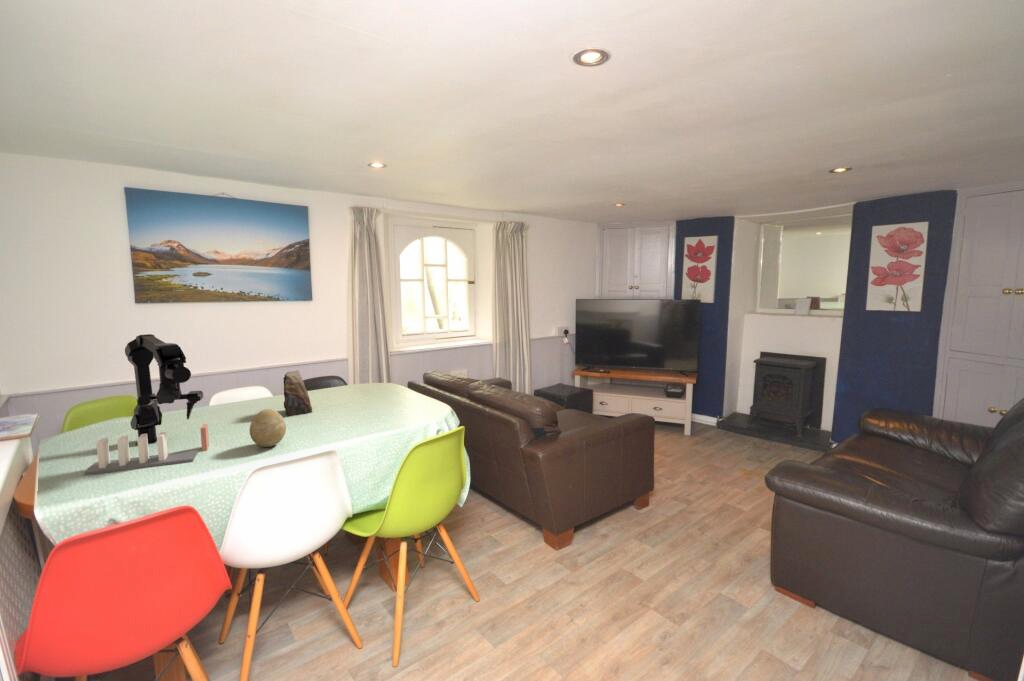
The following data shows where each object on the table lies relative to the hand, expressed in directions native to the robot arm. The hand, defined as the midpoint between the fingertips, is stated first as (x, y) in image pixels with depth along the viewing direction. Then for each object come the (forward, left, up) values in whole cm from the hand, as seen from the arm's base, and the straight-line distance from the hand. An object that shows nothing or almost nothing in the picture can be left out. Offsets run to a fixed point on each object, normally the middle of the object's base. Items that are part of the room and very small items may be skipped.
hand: (173, 420), depth 168 cm
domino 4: (+4, -3, -13) cm, 13 cm away
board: (+4, -8, -14) cm, 16 cm away
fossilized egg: (+1, +31, -14) cm, 34 cm away
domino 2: (+4, -14, -13) cm, 19 cm away
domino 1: (+4, -19, -13) cm, 23 cm away
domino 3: (+4, -8, -13) cm, 16 cm away
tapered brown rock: (-43, +42, -14) cm, 61 cm away
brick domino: (-5, +9, -14) cm, 17 cm away
